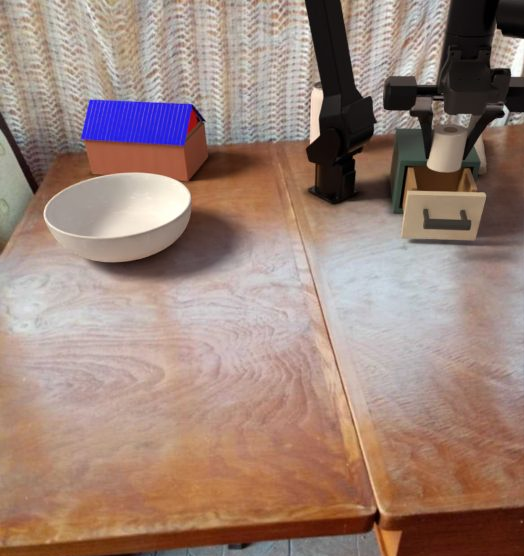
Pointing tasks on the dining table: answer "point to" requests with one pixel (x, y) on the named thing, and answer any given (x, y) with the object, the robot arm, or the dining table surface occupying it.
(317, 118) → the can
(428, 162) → the toilet paper roll
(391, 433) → the dining table surface
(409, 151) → the cabinet
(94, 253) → the serving bowl
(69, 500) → the dining table surface
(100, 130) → the house
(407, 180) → the drawer
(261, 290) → the dining table surface
